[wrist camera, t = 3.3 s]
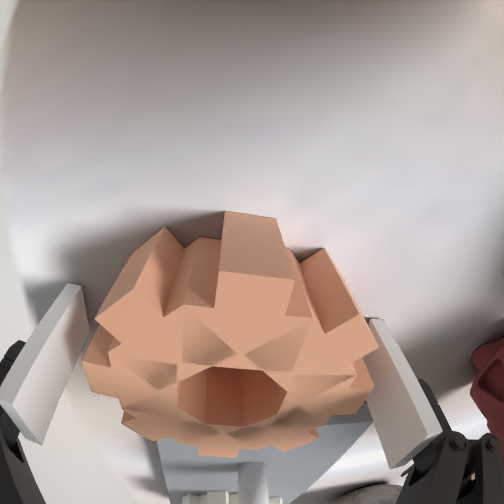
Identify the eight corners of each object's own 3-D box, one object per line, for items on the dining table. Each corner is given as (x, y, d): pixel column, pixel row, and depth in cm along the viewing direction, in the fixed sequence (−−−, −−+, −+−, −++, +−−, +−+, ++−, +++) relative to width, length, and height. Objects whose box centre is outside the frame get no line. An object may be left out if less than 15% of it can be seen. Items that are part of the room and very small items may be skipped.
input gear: (111, 197, 10) (57, 247, 6) (378, 235, 11) (429, 293, 8) (127, 379, 15) (111, 439, 11) (308, 397, 16) (320, 456, 12)
